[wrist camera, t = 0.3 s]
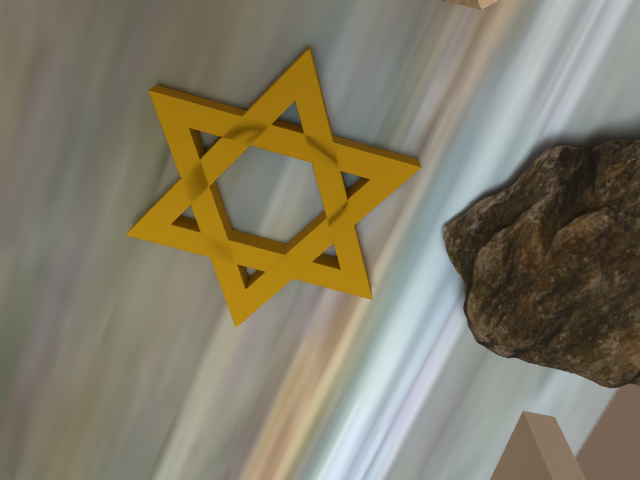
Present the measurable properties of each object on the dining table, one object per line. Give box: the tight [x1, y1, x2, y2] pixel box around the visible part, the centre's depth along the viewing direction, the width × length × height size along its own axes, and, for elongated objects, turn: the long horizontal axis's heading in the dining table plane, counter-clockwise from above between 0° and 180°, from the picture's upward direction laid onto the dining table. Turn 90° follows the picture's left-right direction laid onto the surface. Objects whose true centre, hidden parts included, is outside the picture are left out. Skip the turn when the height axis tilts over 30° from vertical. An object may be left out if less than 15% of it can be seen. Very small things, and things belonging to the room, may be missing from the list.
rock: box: [443, 140, 640, 388], centre depth 37 cm, size 18×10×15 cm
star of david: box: [126, 45, 422, 327], centre depth 39 cm, size 20×17×2 cm
